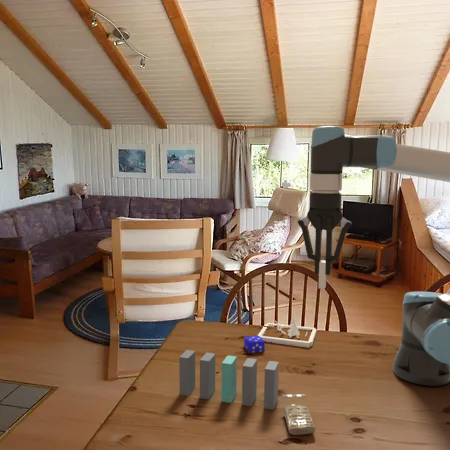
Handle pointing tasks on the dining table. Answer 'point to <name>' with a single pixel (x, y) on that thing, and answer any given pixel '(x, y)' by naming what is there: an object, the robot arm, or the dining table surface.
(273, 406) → the domino
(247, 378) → the domino
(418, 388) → the dining table surface
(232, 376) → the domino
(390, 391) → the dining table surface
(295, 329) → the shell
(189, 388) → the domino
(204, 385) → the domino
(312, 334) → the white flat rectangular frame
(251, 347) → the die
